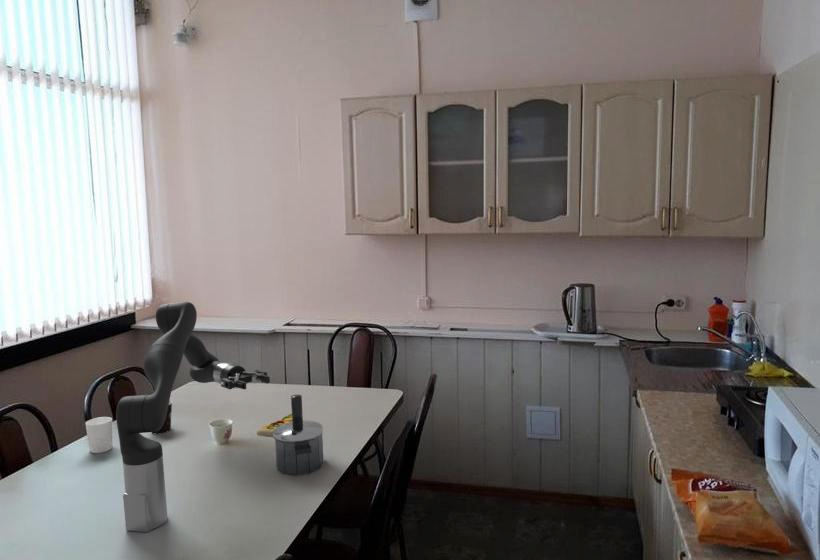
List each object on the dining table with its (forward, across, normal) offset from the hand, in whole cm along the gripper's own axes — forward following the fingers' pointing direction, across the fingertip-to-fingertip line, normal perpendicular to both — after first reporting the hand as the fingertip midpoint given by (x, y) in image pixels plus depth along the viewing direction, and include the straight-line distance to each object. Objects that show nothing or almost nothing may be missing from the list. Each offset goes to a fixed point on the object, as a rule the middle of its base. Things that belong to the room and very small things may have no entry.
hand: (257, 383), depth 185 cm
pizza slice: (-17, +22, +25) cm, 38 cm away
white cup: (-49, -30, +25) cm, 63 cm away
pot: (+14, +5, +25) cm, 29 cm away
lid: (+14, +4, +15) cm, 21 cm away
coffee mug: (-51, -8, +24) cm, 57 cm away
